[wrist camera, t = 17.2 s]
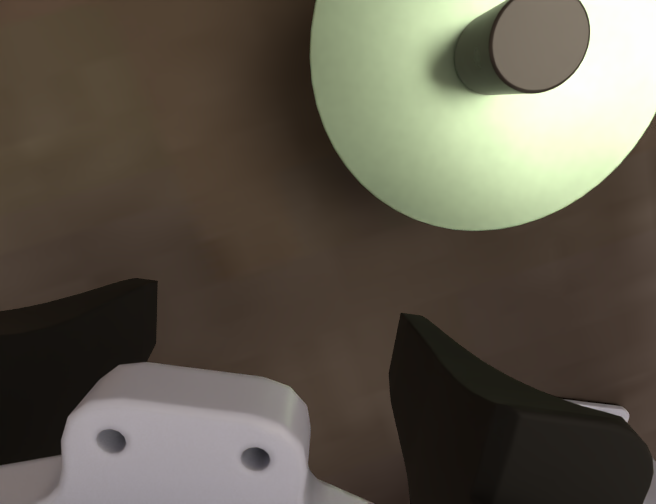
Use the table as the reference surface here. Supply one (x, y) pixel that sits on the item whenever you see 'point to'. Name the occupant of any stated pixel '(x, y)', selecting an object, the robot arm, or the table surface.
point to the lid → (483, 101)
